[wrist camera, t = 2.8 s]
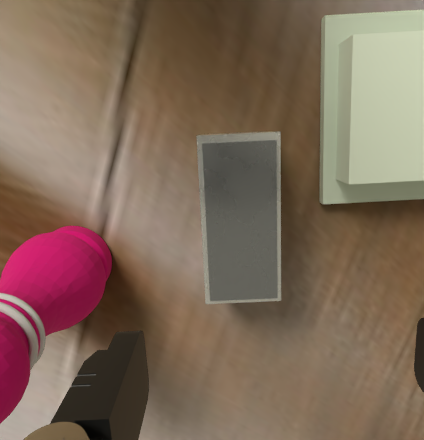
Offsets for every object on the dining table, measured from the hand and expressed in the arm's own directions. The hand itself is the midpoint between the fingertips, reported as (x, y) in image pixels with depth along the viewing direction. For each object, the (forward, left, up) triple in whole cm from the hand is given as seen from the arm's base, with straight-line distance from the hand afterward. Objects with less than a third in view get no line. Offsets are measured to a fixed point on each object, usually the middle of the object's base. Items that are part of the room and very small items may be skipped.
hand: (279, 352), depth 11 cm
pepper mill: (+4, -14, -22) cm, 26 cm away
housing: (0, 0, -22) cm, 22 cm away
